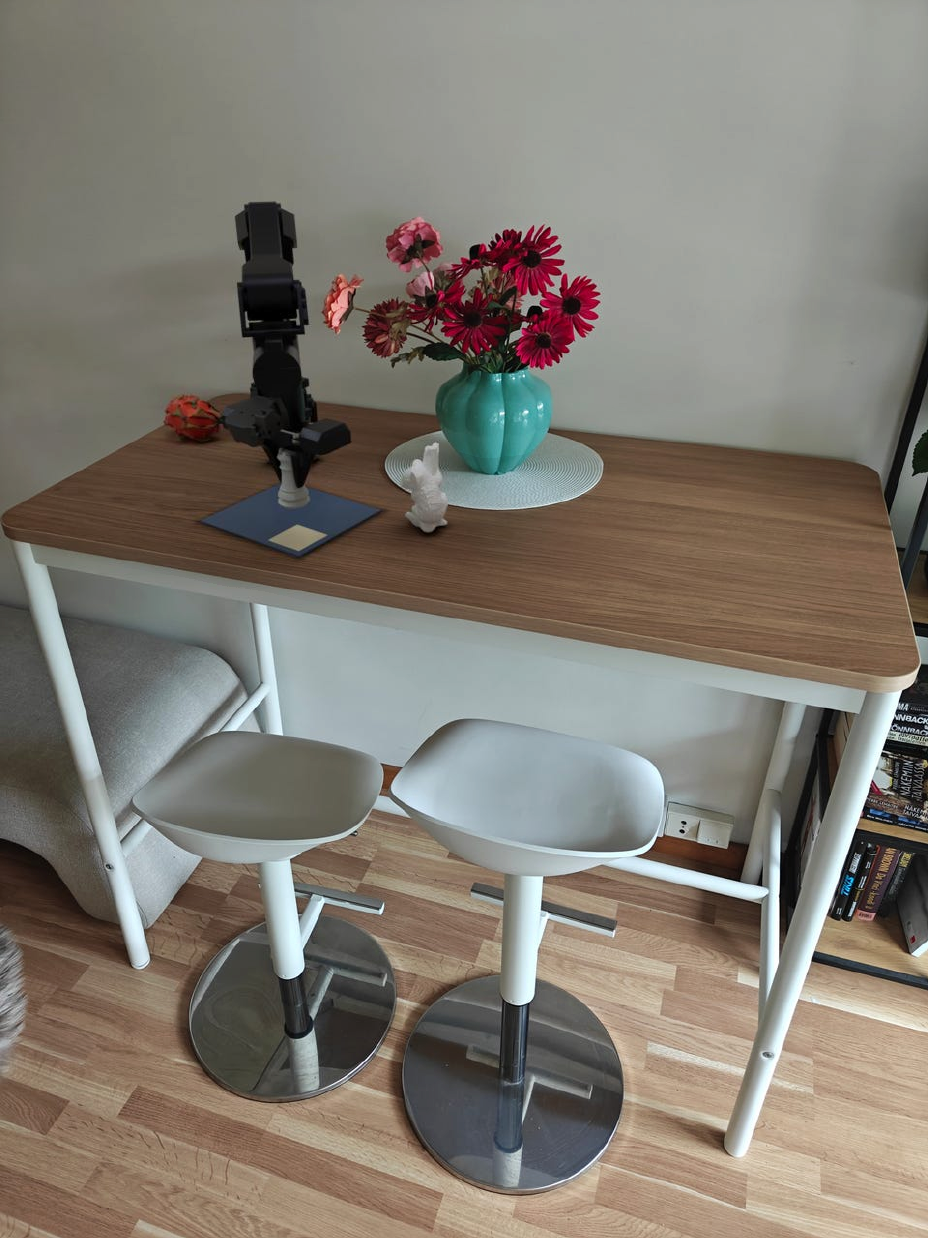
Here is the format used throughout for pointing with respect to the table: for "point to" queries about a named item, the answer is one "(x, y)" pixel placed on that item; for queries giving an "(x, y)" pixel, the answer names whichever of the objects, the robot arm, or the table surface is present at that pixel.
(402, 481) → the white bunny statuette
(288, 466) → the rook chess piece
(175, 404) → the dragon fruit
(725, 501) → the table surface
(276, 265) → the robot arm
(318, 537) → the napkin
